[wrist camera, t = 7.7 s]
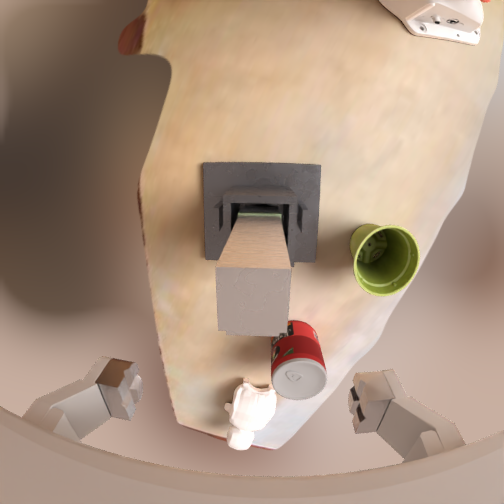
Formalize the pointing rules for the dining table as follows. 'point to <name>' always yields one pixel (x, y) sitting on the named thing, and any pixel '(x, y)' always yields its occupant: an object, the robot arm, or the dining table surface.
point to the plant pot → (384, 258)
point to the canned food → (297, 362)
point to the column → (254, 275)
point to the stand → (263, 202)
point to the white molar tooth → (249, 413)
